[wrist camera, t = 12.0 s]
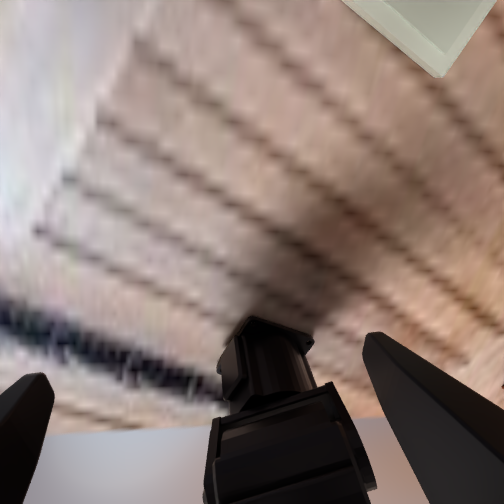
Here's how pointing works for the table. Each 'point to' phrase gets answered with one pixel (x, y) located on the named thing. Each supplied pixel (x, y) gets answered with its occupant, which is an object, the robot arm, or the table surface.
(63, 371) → the table surface
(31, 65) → the table surface
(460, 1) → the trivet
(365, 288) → the table surface
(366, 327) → the table surface
